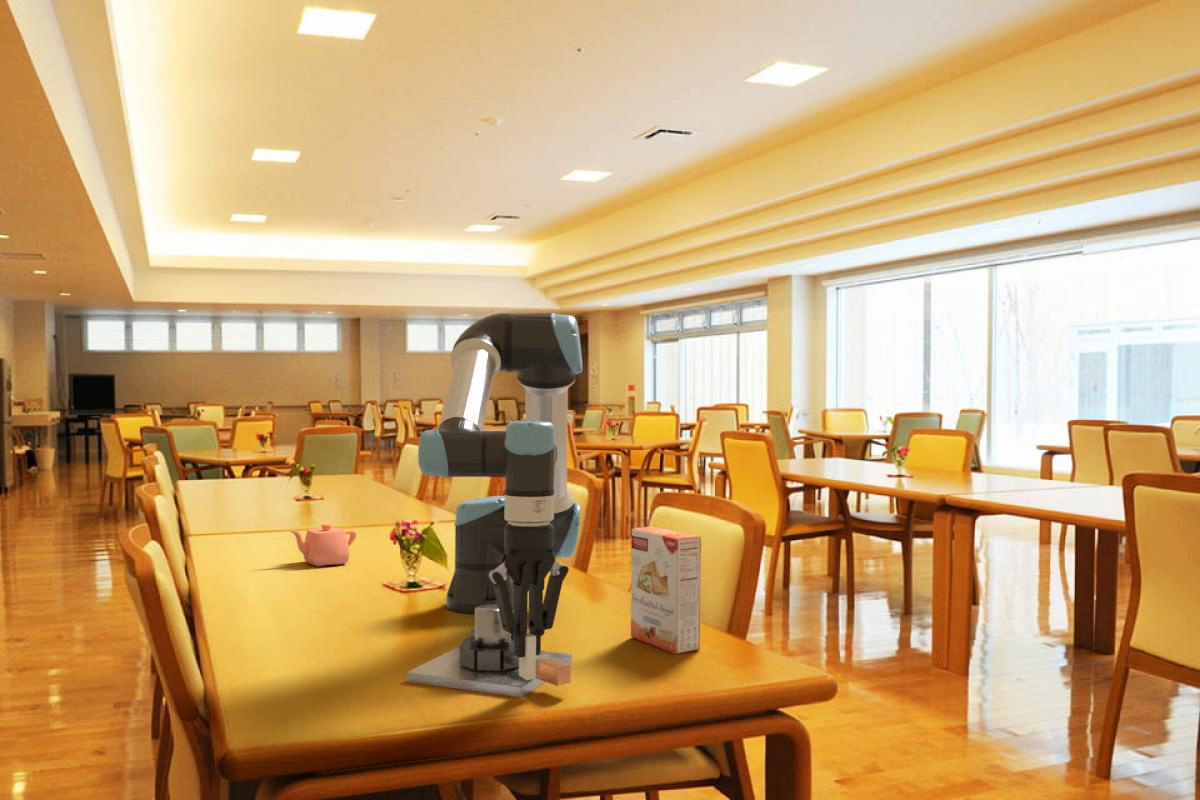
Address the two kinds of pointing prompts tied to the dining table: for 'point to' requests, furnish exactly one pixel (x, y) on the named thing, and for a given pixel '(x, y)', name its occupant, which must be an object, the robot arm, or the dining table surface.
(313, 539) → the teapot
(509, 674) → the flange plate
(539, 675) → the wrench
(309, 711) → the dining table surface
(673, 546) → the cracker box
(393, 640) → the dining table surface
